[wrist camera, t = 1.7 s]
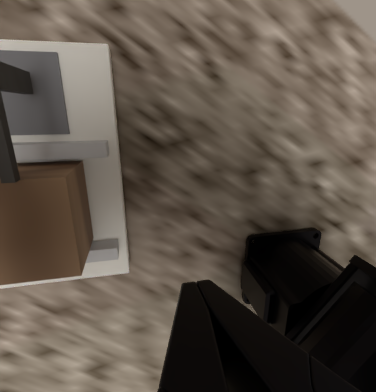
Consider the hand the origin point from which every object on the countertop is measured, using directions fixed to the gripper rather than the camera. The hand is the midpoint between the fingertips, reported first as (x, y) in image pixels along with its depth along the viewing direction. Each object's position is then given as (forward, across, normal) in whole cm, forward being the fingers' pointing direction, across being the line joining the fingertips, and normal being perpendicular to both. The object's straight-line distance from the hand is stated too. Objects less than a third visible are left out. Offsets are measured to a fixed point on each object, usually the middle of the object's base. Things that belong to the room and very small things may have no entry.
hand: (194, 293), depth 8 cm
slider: (+9, +7, -2) cm, 12 cm away
